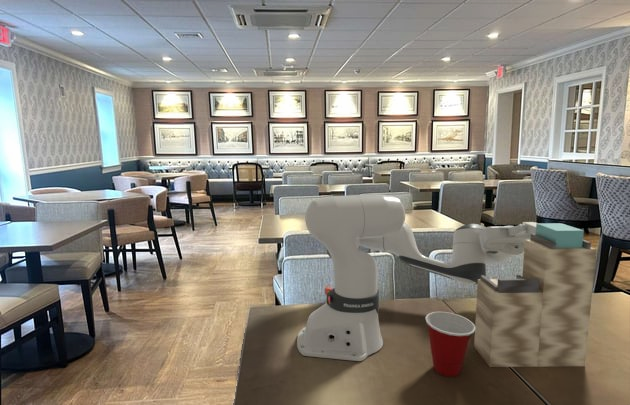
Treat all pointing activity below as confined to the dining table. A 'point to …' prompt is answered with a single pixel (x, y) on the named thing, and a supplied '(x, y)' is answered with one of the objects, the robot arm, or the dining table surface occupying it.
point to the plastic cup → (448, 341)
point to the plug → (557, 233)
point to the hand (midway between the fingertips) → (533, 227)
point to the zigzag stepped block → (538, 308)
